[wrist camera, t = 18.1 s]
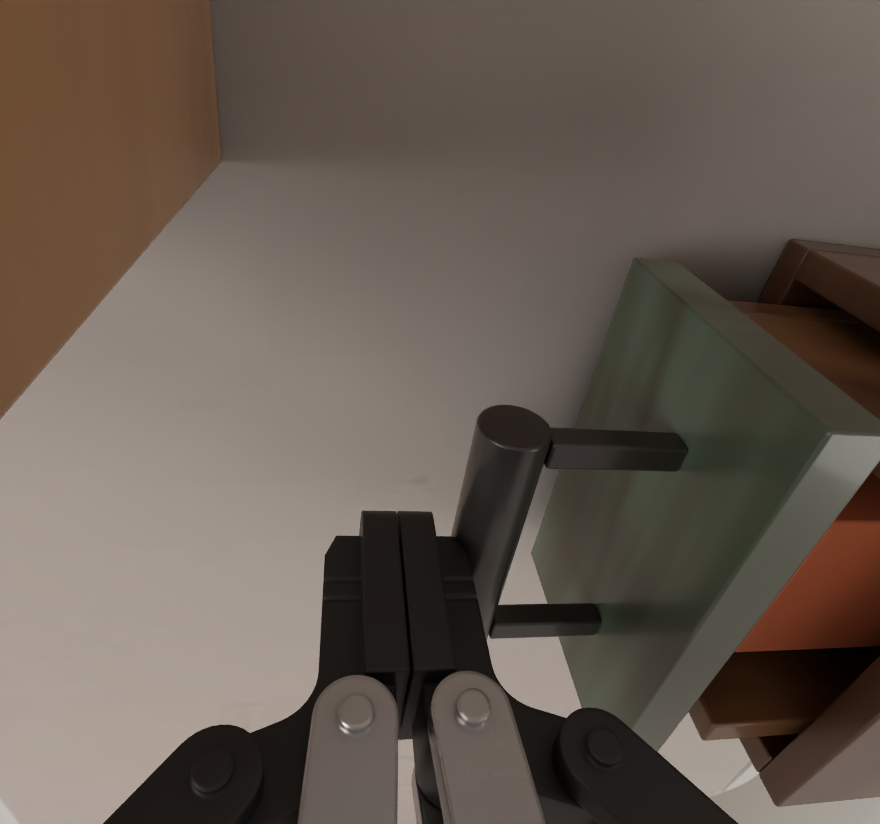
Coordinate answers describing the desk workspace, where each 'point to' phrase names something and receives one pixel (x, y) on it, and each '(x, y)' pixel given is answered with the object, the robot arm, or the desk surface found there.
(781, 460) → the drawer
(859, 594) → the block
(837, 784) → the cabinet
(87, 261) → the stand
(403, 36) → the desk surface
